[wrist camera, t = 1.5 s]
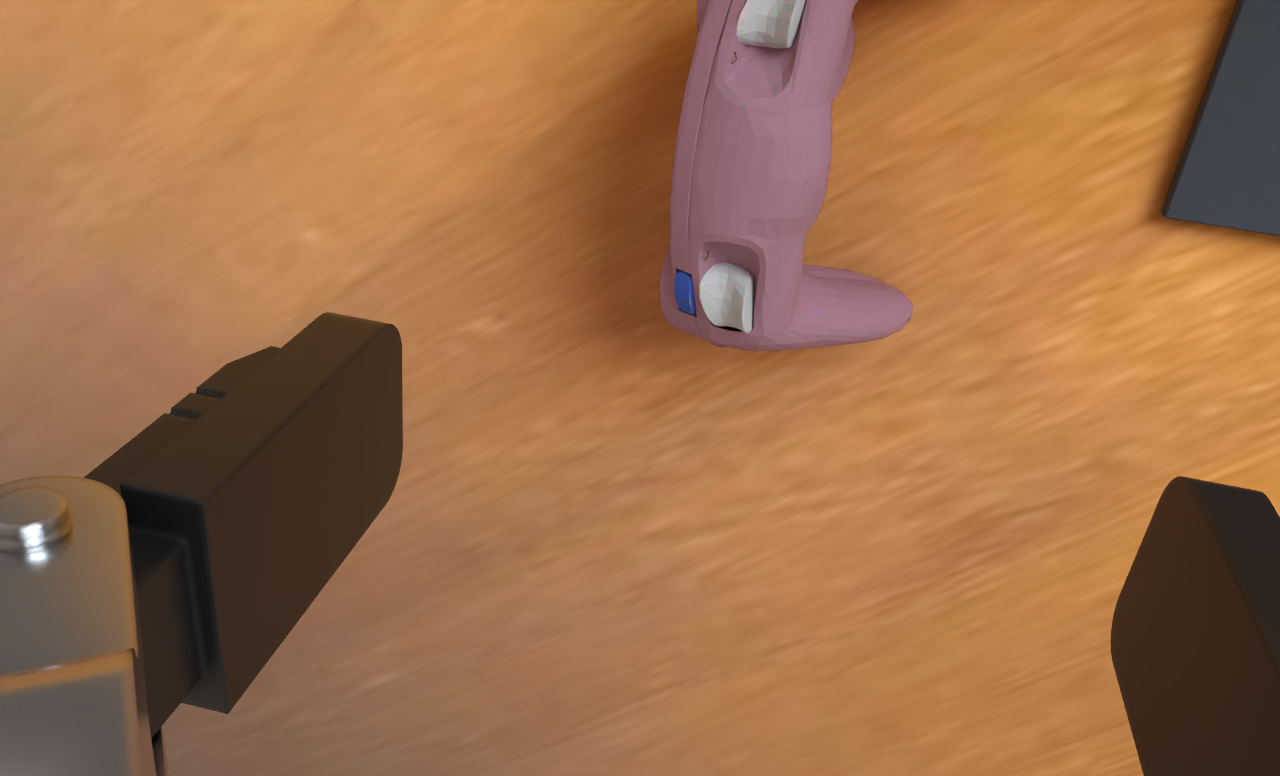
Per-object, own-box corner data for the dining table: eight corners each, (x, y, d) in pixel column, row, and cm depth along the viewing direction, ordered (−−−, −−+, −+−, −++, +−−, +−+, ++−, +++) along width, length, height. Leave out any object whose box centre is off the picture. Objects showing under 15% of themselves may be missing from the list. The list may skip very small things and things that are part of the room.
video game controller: (837, -117, 24) (649, -125, 19) (1029, -89, 22) (874, -91, 17) (768, 279, 29) (604, 356, 24) (920, 337, 26) (774, 435, 21)
